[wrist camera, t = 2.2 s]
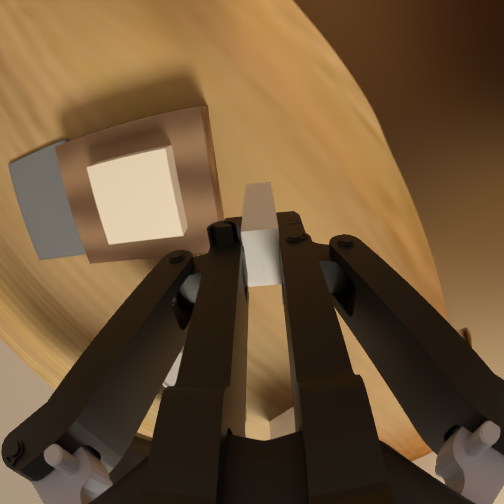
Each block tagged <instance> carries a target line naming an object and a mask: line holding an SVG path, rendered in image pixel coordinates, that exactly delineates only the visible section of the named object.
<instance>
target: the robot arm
mask: <svg viewBox="0 0 504 504" xmlns="http://www.w3.org/2000/svg"><path fill="white" fill-rule="evenodd" d="M207 233H208V238H209V243H210V248H209V252H208V253H207V254H204V255H201V256H198V257H194V258H193V256H192V253H191V252H190V251H188V250H176V251H172V252H171V253H169V254H167V255H166V256H164V257H163V258H162V259H161V260H160V262H159V263H158V264H157V265H156V266H155V267H154V268H153V269H152V271H151V272H150V273H149V274H148V275H147V276H146V277H145V278H144V280H143V281H142V282H141V283H140V284H139V285H138V286H137V288H136V289H135V290H134V291H133V292H132V293H131V295H130V296H129V297H128V298H127V299H126V301H125V302H124V303H123V304H122V305H121V306H120V308H119V309H118V310H117V311H116V312H115V314H114V315H113V316H112V317H111V319H110V320H109V321H108V322H107V323H106V325H105V326H104V327H103V328H102V330H101V331H100V332H99V333H98V335H97V336H96V337H95V338H94V340H93V341H92V342H91V343H90V345H89V346H88V347H87V349H86V350H85V351H84V352H83V354H82V355H81V356H80V358H79V359H78V360H77V362H76V363H75V364H74V366H73V367H72V368H71V370H70V371H69V372H68V374H67V375H66V376H65V378H64V379H63V380H62V382H61V383H60V385H59V386H58V387H57V389H56V390H55V392H54V393H53V394H52V396H51V397H50V399H49V400H48V402H47V403H45V404H44V405H43V406H42V407H41V408H39V409H38V410H37V411H36V412H34V413H33V414H32V415H31V416H30V417H28V418H27V419H26V420H25V421H24V422H22V423H21V424H20V425H19V426H18V427H16V428H15V429H14V430H13V431H12V432H10V433H9V434H8V436H7V437H6V438H5V440H4V442H3V444H2V452H1V453H2V458H3V461H4V463H5V464H6V466H7V467H9V468H10V469H12V470H13V471H15V472H16V473H18V474H20V475H22V476H23V477H25V478H26V479H28V480H29V481H30V482H32V484H33V485H34V488H35V489H36V491H37V493H38V494H39V496H40V498H41V499H42V501H43V503H44V504H493V502H494V500H495V499H496V497H497V496H498V494H499V492H500V491H501V489H502V487H503V485H504V380H503V379H501V378H500V377H498V376H497V375H495V374H494V373H493V372H492V371H491V370H490V368H489V367H488V366H487V365H486V364H485V362H484V361H483V360H482V359H481V358H480V357H479V356H478V354H477V353H476V352H475V351H474V350H473V349H472V348H471V347H470V345H469V344H468V343H467V342H466V341H465V340H464V339H463V338H462V337H461V336H460V335H459V333H458V332H457V331H456V330H455V329H454V328H453V327H452V326H451V325H450V324H449V323H448V322H447V321H446V320H445V319H444V318H443V317H442V316H441V315H440V314H439V313H438V312H437V311H436V310H435V309H434V308H433V307H432V306H431V305H430V304H429V303H428V302H427V301H426V300H425V299H424V298H423V297H422V296H421V295H420V294H419V293H418V292H417V291H416V290H415V289H414V288H413V287H412V286H411V285H410V284H409V283H408V282H407V281H406V280H405V279H403V278H402V277H401V276H400V275H399V274H398V273H397V272H396V271H395V270H394V269H393V268H392V267H390V266H389V265H388V264H387V263H386V262H385V261H384V260H383V259H382V258H380V257H379V256H378V255H377V254H376V253H375V252H374V251H372V250H371V249H370V248H369V247H368V246H367V245H366V244H364V243H363V242H362V241H361V240H360V239H358V238H356V237H354V236H351V235H346V234H343V235H338V236H335V237H333V238H331V239H330V242H329V245H325V244H318V243H314V242H312V239H311V237H310V236H309V234H307V233H305V230H304V227H303V224H302V221H301V218H300V215H299V214H297V213H296V212H294V211H291V212H279V213H276V210H275V204H274V199H273V193H272V187H271V182H265V183H255V184H246V189H245V197H244V206H243V215H242V217H233V218H226V219H225V220H222V221H217V222H215V223H212V224H211V225H209V226H208V227H207ZM247 283H248V285H247ZM277 284H282V297H283V304H284V312H285V321H286V331H287V341H288V351H289V361H290V371H291V382H292V394H293V405H294V417H295V432H294V433H291V434H288V435H285V436H281V437H278V438H274V439H271V440H266V441H261V440H255V439H250V438H246V436H245V422H246V408H245V406H246V371H247V336H248V303H249V292H248V287H252V286H265V285H277ZM173 300H174V301H173ZM334 307H335V308H336V310H337V311H338V313H339V314H340V315H341V317H342V318H343V320H344V321H345V323H346V324H347V326H348V327H349V328H350V330H351V331H352V333H353V334H354V336H355V337H356V339H357V340H358V342H359V343H360V345H361V346H362V347H363V349H364V350H365V352H366V353H367V355H368V356H369V358H370V359H371V361H372V362H373V364H374V365H375V367H376V368H377V370H378V371H379V373H380V374H381V376H382V377H383V379H384V380H385V382H386V383H387V385H388V387H389V388H390V390H391V391H392V393H393V394H394V396H395V397H396V399H397V400H398V402H399V404H400V405H401V407H402V408H403V410H404V411H405V413H406V415H407V416H408V418H409V419H410V421H411V423H412V424H413V426H414V427H415V429H416V431H417V432H418V433H419V435H420V436H421V438H422V439H423V440H424V442H425V443H426V444H427V445H428V446H429V447H430V448H431V449H432V450H433V452H435V453H436V454H437V459H436V466H435V472H436V474H437V475H438V476H439V477H442V478H443V479H444V481H445V484H446V485H445V484H443V483H442V482H440V481H439V480H437V479H436V478H434V477H432V476H431V475H430V474H428V473H427V472H425V471H424V470H422V469H421V468H420V467H418V466H416V465H415V464H414V463H412V462H411V461H410V460H408V459H407V458H405V457H404V456H403V455H401V454H400V453H398V452H397V451H396V450H394V449H393V448H392V447H390V446H389V445H387V444H386V443H384V442H382V441H380V440H379V439H378V435H377V431H376V426H375V422H374V418H373V414H372V410H371V407H370V403H369V399H368V395H367V392H366V388H365V385H364V382H363V379H362V377H361V376H360V375H355V374H354V373H353V370H352V366H351V363H350V359H349V355H348V352H347V348H346V345H345V341H344V338H343V335H342V331H341V328H340V324H339V321H338V318H337V315H336V311H335V308H334ZM184 344H185V345H184ZM183 346H184V349H183V353H182V357H181V362H180V366H179V370H178V375H177V379H176V383H175V385H174V386H167V387H166V389H165V390H164V392H163V395H162V398H161V402H160V406H159V411H158V415H157V419H156V424H155V428H154V433H153V438H152V437H149V436H146V435H143V434H140V433H137V431H138V429H139V427H140V425H141V423H142V421H143V420H144V418H145V416H146V414H147V412H148V410H149V408H150V406H151V405H152V403H153V401H154V399H155V397H156V395H157V394H158V392H159V390H160V388H161V386H162V384H163V382H164V381H165V379H166V377H167V375H168V373H169V372H170V370H171V368H172V366H173V364H174V362H175V361H176V359H177V357H178V355H179V353H180V351H181V350H182V348H183Z"/></svg>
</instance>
